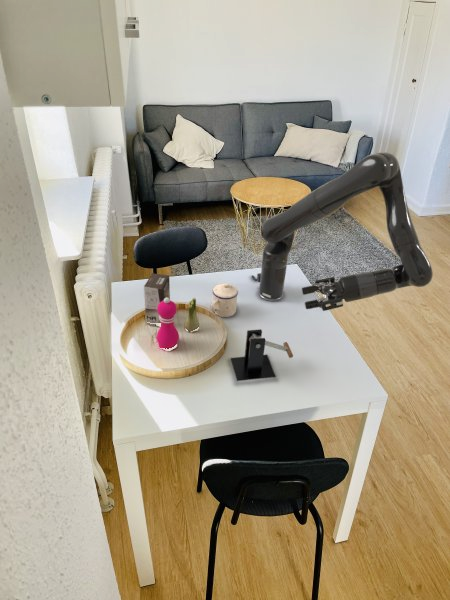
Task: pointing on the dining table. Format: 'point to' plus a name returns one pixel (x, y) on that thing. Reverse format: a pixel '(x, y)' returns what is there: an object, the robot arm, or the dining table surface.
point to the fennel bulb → (192, 317)
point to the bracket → (253, 360)
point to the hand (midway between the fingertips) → (303, 298)
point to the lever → (275, 345)
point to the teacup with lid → (224, 299)
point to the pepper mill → (167, 324)
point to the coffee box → (155, 296)
